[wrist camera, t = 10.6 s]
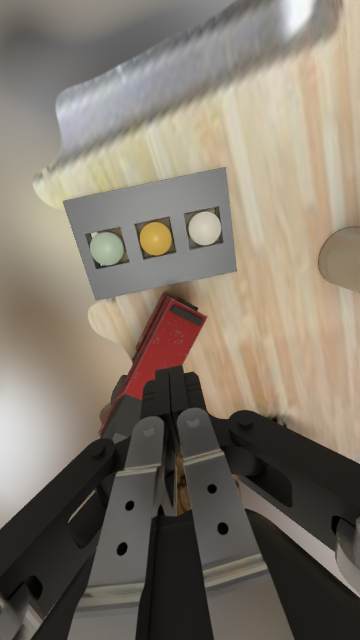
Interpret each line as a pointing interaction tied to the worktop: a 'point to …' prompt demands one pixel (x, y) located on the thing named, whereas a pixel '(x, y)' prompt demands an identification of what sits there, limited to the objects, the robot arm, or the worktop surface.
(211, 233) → the button ivory
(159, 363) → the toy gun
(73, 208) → the panel
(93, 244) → the button sage
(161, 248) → the button amber
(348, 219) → the worktop surface
